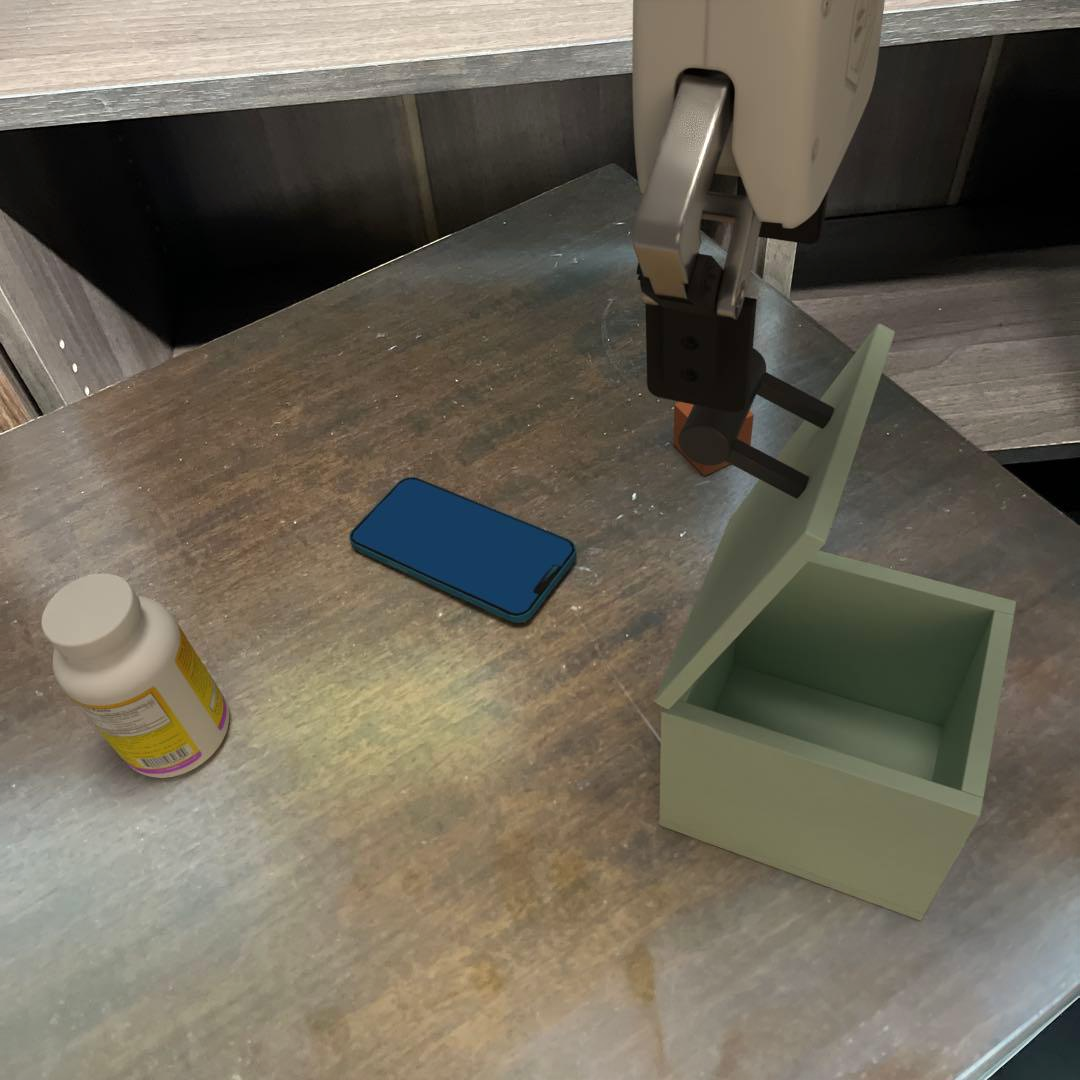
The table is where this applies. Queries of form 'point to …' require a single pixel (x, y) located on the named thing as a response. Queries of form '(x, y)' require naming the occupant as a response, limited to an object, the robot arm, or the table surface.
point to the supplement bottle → (134, 675)
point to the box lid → (771, 501)
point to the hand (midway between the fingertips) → (740, 310)
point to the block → (680, 418)
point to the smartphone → (465, 548)
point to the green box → (844, 731)
